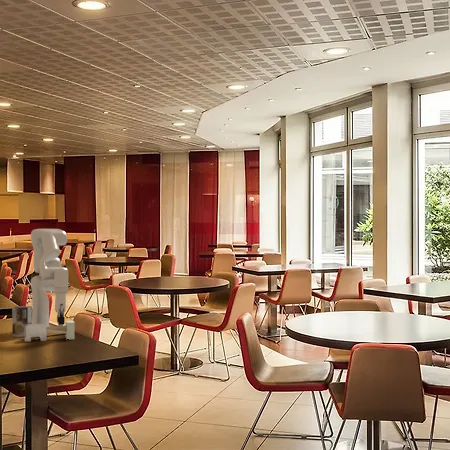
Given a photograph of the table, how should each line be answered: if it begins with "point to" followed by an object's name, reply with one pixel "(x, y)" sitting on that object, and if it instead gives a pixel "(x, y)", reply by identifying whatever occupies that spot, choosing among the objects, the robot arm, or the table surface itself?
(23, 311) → the coffee box
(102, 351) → the table surface
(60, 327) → the inner bar
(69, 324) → the socket block
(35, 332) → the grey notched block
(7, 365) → the table surface
